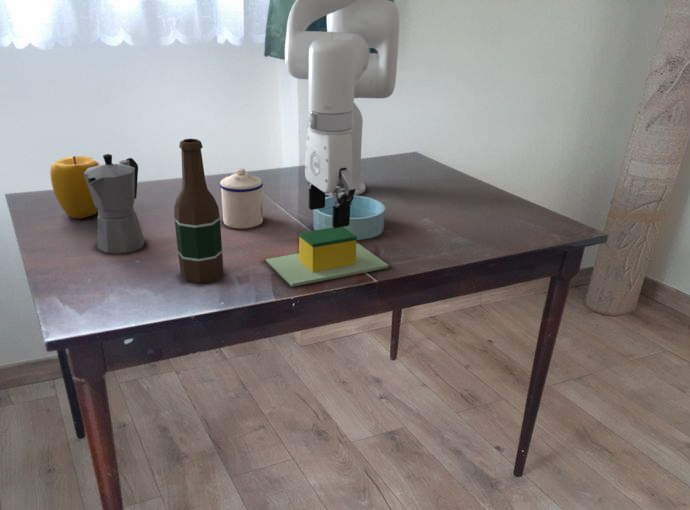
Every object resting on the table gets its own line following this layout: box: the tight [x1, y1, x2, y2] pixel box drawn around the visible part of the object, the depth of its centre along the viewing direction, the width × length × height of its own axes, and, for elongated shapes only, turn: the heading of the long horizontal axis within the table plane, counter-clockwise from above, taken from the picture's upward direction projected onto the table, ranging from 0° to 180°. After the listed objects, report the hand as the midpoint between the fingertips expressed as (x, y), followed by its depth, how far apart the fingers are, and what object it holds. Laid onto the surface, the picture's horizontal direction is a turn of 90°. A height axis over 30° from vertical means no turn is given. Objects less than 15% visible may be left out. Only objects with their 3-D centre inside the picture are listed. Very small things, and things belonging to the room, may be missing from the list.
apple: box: [49, 155, 100, 220], centre depth 137 cm, size 11×11×13 cm
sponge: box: [298, 227, 358, 272], centre depth 118 cm, size 9×6×6 cm, turn 116°
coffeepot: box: [84, 153, 145, 255], centre depth 123 cm, size 15×9×18 cm, turn 162°
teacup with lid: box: [219, 167, 264, 230], centre depth 137 cm, size 12×9×12 cm
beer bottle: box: [173, 138, 224, 285], centre depth 109 cm, size 8×8×24 cm
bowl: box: [312, 195, 386, 241], centre depth 135 cm, size 15×15×5 cm
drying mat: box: [266, 242, 390, 287], centre depth 120 cm, size 20×12×1 cm, turn 116°
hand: (328, 217), depth 116 cm, fingers open, 9 cm apart
